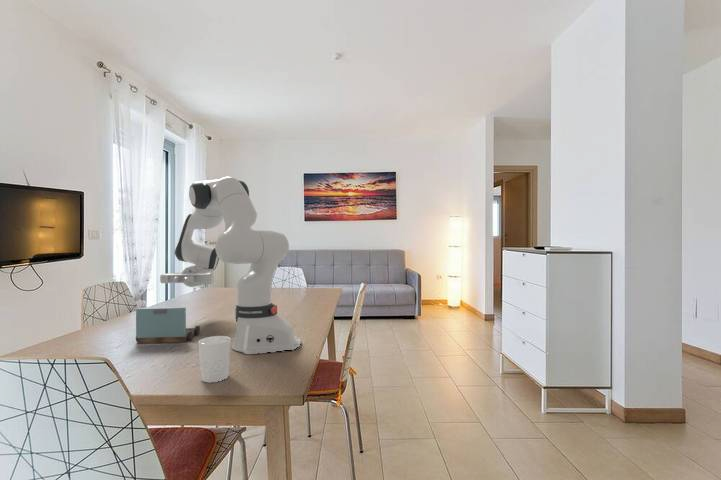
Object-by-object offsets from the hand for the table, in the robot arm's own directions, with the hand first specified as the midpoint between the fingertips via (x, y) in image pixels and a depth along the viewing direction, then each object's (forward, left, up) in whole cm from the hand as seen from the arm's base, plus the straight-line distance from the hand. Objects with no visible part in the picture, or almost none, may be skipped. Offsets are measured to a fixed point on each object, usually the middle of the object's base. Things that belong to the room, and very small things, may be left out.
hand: (180, 280), depth 147 cm
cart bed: (0, +11, -20) cm, 23 cm away
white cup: (-28, +53, -20) cm, 63 cm away
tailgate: (0, +18, -18) cm, 25 cm away
